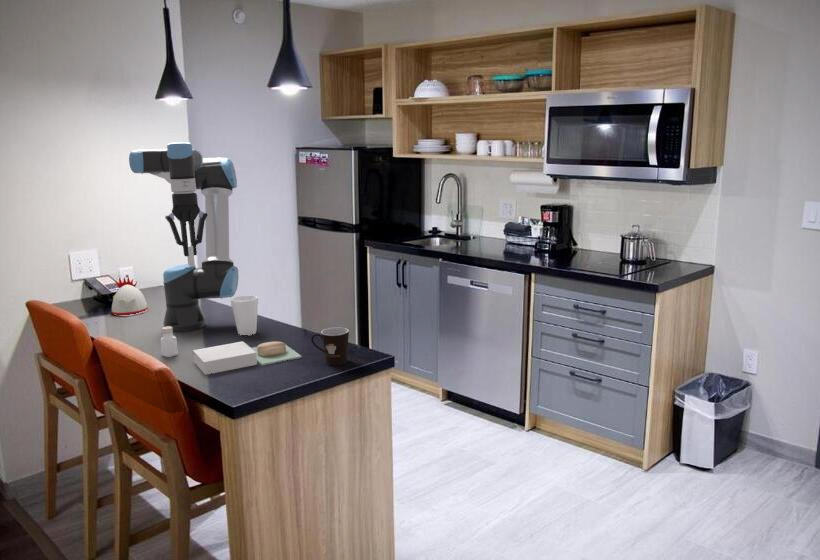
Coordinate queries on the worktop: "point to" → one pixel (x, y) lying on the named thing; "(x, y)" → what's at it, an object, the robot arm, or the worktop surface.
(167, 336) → the pepper shaker
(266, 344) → the tan flat disc
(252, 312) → the foam cup
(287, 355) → the rubber mat
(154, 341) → the worktop surface
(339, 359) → the coffee mug
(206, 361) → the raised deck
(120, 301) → the white dome hat
